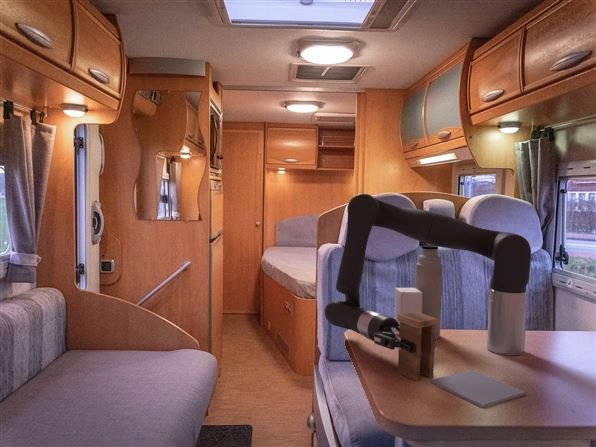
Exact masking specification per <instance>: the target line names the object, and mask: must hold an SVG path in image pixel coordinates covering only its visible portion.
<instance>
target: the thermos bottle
mask: <svg viewBox="0 0 596 447" xmlns="http://www.w3.org/2000/svg"><path fill="white" fill-rule="evenodd" d="M421 249H422V250H421V254H420V255H418V259H417V260H418V261H417V262H416V263H415V279H414V288H416V289H418V290H419V291H420V292H422V314H425V315H428V316H431V317H434V318H437V319H438V325H435V340H437V339H439V338H440V337H441V320H442V319H441V317H442V316H441V314H442V297H443V296H442V294H443V274H444V272H443V270H444V265H443V264H442V263H441V261H442V258H441V256H439V246H435V245H431V244H427V245H421Z"/></svg>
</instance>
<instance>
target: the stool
mask: <svg viewBox="0 0 596 447" xmlns="http://www.w3.org/2000/svg"><path fill="white" fill-rule="evenodd" d="M397 321H400V330H399V337H401V338H403V340H404V339H405V340H407V341H410V342H412V343H414V344H415V345H416V350H415V353H410V352H408V351H406V350H404V349H398V358H397V360H398V361H397V372H398V373H399V374H401V375H403V376H404V377H407V378H409V379H410V380H413V381H414V382H418V381H420V375H422V376H425V377H427V378H433V377H434V369H435V368H434V366H435V364H434V363H435V349H434V347H435V348H436V339H435V325H438V319H437V318H434V317H431V316H428V315H425V314H422V313H419V312H415V313H408V314H401V315H398V320H397Z"/></svg>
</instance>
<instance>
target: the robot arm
mask: <svg viewBox="0 0 596 447" xmlns="http://www.w3.org/2000/svg"><path fill="white" fill-rule="evenodd" d="M346 208H347V209H346V210H347V211H346V212H347V230H346V236H345V243H344V248H343V252H342V257H341V261H340V263H339V268H338V273H337V279H336V284H335V290H336V291H337V292H338V293H340V294H343V295H344V296H345V297H344V298H345V300H331V301H330V302H328V303H327V304H326V306H325V308H324V316H325V319H326V321H327V322H328V323H329V324H330V325H333V326H335V327H339V328H342V329H346V330H350V331H353V332H355V333H356V334H357V333H358V334H359V335H362V336H363V337H365V339H368V340H370V341H372V342H373V343H374V344H375V345H378V346H380V347H383V348H386V349H390V350H393V351H394V350H395V349H396V348H397V349H398V350H399V349H404V350H406V351H408V352H410V353H415V350H416V345H415V344H414V343H412V342H410V341H407V340H405V339H404V340H403V338H401V337H399V330H400V325H399V323H398V322H397V321H396V320H395V317H391V316H388V315H385V314H383V313H380V312H378V311H373V310H369V309H367V308H364V307H361V296H360V295H361V293H360V287H361V284H362V278H363V272H364V268H365V267H364V266H365V260H366V253H367V245H368V241H369V237H370V234H371V231H372V229H373V226H374V227H378V228H382V229H387V230H392V231H394V232H397V233H399V234H400V235H403V236H405V237H408V238H410V239H413V240H416V241H418V242H421V243H425V244H427V245H431V246H438V248H439V247H441V248H444V249H451V250H462V251H467V252H471V253H475V254H477V255H479V256H480V255H481V256H483V257H486V258H488V259H491V260H493V272H492V273H493V274H492V277H491V278H490V281H489V298H488V299H489V300H488V301H489V302H488V320H487V336H486V338H487V339H486V341H487V342H486V349H487V350H489V351H491V352H493V353H495V354H500V355H505V356H520V355H522V354H523V352H524V351H525V346H526V344H525V343H526V325H527V324H526V323H527V318H526V317H525V316H526V301H527V300H526V296H527V295H526V294H527V293H526V292H527V285H528V283H529V281H530V272H531V262H532V249H531V244H530V242H529V241H528V240H527V239H526V238H525V237H524V236H522V235H520V234H516V233H513V232H506V231H499V230H493V229H485V228H482V227H478V226H475V225H471V224H469V223H467V222H465V221H463V220H460V219H459V218H458V219H457V218H454V217H452V216H449V215H446V214H442V213H440V212H439V213H438V212H435V211H434V212H433V211H431V210H430V211H429V210H426V209H425V210H424V209H419V208H415V207H414V208H412V207H403V206H399V205H394V204H393V203H392V204H391V203H388V202H385V201H383V200H380V199H378V198H376V197H374V196H373V195H371V194H368V193H359V194H356V195H354V196H353V197H352V198H351V199H350V200H349V202H348V204H347V207H346ZM435 348H436V346H435V347H434V350H435Z"/></svg>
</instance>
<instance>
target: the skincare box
mask: <svg viewBox="0 0 596 447" xmlns="http://www.w3.org/2000/svg"><path fill="white" fill-rule="evenodd" d="M394 295H395V296H394V319H395V320H396V321H397V320H398V315H401V314H408V313H415V312H419V313H422V292H420V291H419V290H418V289H416V288H415V287H394ZM397 322H398V323H399V325H400V321H397Z"/></svg>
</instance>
